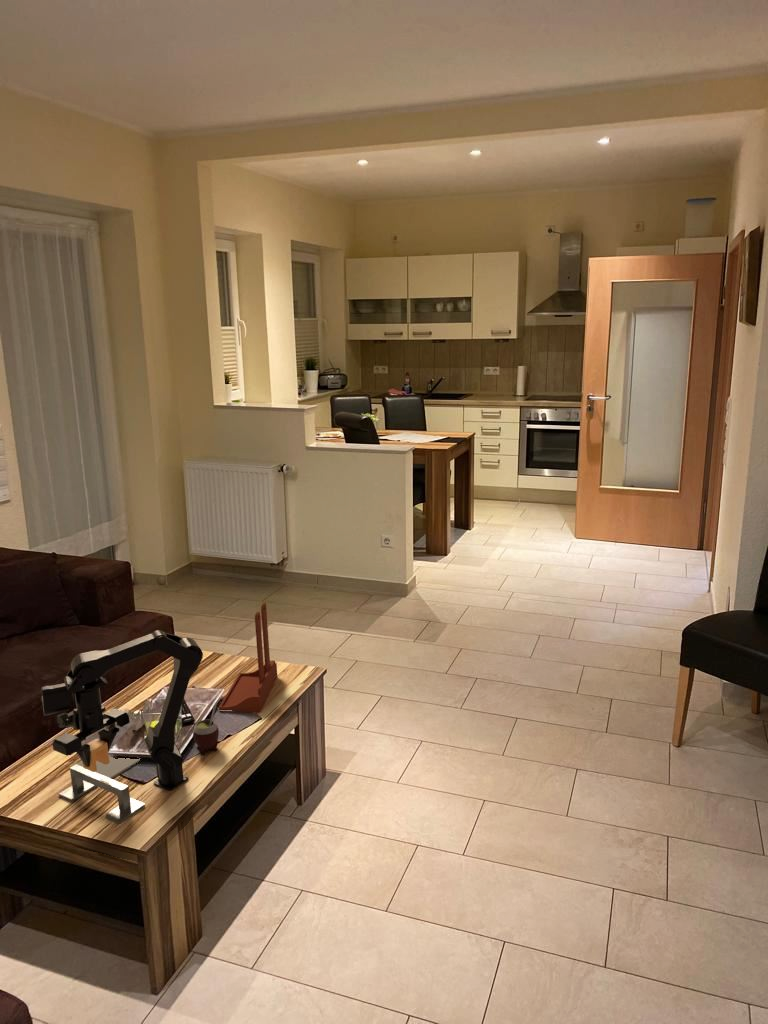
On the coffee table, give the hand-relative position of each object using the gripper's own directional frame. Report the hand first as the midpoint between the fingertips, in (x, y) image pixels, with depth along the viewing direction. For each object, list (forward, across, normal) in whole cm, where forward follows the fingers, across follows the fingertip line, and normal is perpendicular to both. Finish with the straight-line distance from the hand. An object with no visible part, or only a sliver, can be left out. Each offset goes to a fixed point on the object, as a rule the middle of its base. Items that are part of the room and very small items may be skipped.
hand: (96, 761), depth 193 cm
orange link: (+1, 0, 0) cm, 1 cm away
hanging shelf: (+12, -64, -6) cm, 65 cm away
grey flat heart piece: (+12, -29, -21) cm, 38 cm away
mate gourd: (+11, -32, +6) cm, 35 cm away
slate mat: (+11, -12, -13) cm, 21 cm away
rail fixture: (+11, 0, 0) cm, 11 cm away
